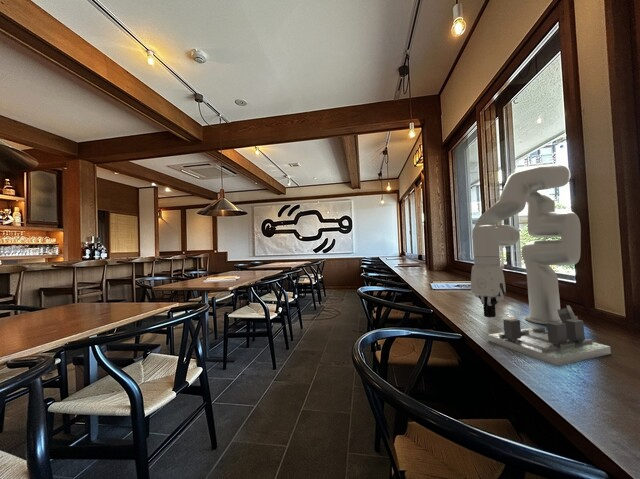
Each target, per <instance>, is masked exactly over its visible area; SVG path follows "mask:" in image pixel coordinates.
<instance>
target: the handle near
mask: <svg viewBox="0 0 640 479" xmlns="http://www.w3.org/2000/svg"><path fill="white" fill-rule="evenodd" d="M565 324H566V332H567V339H569V340H573V341H579V340H584V339H586V338H585V322H584V320H582V319H578V320H577V319H569V320H565Z"/></svg>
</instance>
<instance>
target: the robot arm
mask: <svg viewBox="0 0 640 479" xmlns="http://www.w3.org/2000/svg"><path fill="white" fill-rule="evenodd" d="M570 179H571V171H570V168H569V167H568V166H566V165H565V164H563V163H555V164H546V165H538V166H535V167H531V168H527V169H523V170H520V171H515V172H514V173H511V174H510V175H509V176H508V177H507V179H506V182H505V185H504V186H503V189H502V191H501V194H500V196H499V199H498V201H496V202H495V203H494V204H493V205H491V206H490V207H489V208H487V210H486V211H484V212H483V213H482V214H481V215H480V216H479V218H478V219H477V221H476V223H475V225H474V227H473V228H472V230H471V231H472V234H471V237H472V248H473V249H472V250H473V258H472V261H473V265H472V267H471V273H470V290H471V293H472V294H473V295H474V296H475V297H476V298H478V299H479V300H480V302H481V305H483V306H482V307H483V317H484V318H490V319H491V318H495V317H496V306H497V304H498V303H499V302H504V301H505V297H504V296H506V280H505V274H504V270H503V267H502V266H501V259H500V258H501V257H500V248H501V247H504V248H505V247H510V246H514V245H516V244H517V243H518V241H519V240H520V232H519V229H518V228H517V227H515V226H514V225H510V224H499V225H498V223H500V222H502V221H505V220H507V219H508V218H511V217H513V216H516V215H518V214H519V213H521V212H523V211H524V209H525V207H526V205H527V232H528V235H529V236H530V237H532V238H538V239H540V238H560V239H555V240H554V239H553V240H551V239H547V240H533V241H529V242H526V243H525V244H524V245H523V246H522V248H521V256H522V258H523V261H524V266H525V270H526V272H525V273H526V280H527V281H526V282H527V294H528V306H529V309H528V310H529V314H527V315H525V320H526V321H528V322H530V323H534V324H538V325H547V323H550V322H560V323H562V321H561V319H560V317H559V315H558V309H561V302H560V301H561V300H560V292H559V278H558V274H557V273H556V271H555V270H554V269H553V268H552V267H551V266H573V265H576V264H578V263H579V261H580V259H581V251H582V250H581V249H582V248H581V244H582V243H581V241H582V240H581V236H582V234H581V232H582V230H581V228H582V227H581V222H580V218H579V216H578V215H577V213H575V212H573V211H569V210H568V211H556V208H555V207H556V206H555V204H556V202H555V200H554V198H553V197H552V196H551V195H550V194H548V193H546V192H545V190H550V189H555V188H561V187H564V186H566V185H567V184H568V183H569V181H570Z"/></svg>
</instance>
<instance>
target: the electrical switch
mask: <svg viewBox="0 0 640 479" xmlns="http://www.w3.org/2000/svg"><path fill="white" fill-rule="evenodd" d="M558 315H559V317H560V319H561V321H562V323H565V320H569V319H577V320H579V318H578V315H577V316H576V315H575V313H574V311H573V308H572V307H571V305H569V304H568V305H566V308H565V307H564V308H560V309H558Z"/></svg>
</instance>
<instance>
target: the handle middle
mask: <svg viewBox="0 0 640 479" xmlns="http://www.w3.org/2000/svg"><path fill="white" fill-rule="evenodd" d="M546 326H547V329H546V330H548V341H549V342H550V343H554V344H557V345H560V344H563V343H567V332H566V324H565V323H560V322H550V323H547V324H546Z"/></svg>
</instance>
